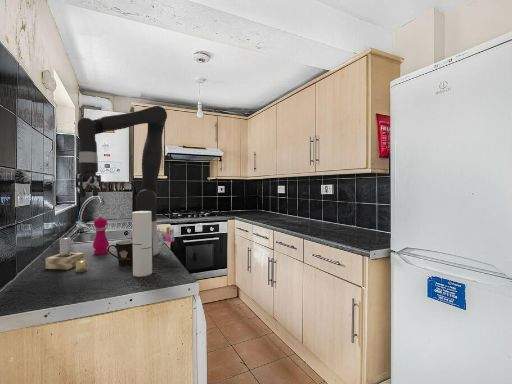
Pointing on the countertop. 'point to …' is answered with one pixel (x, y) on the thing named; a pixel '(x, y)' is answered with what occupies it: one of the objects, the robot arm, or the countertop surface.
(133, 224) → the cylindrical container
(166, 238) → the candy landscape model
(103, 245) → the pepper mill
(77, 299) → the countertop surface
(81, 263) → the short pin
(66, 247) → the long pin
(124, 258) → the coffee mug
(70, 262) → the socket block
